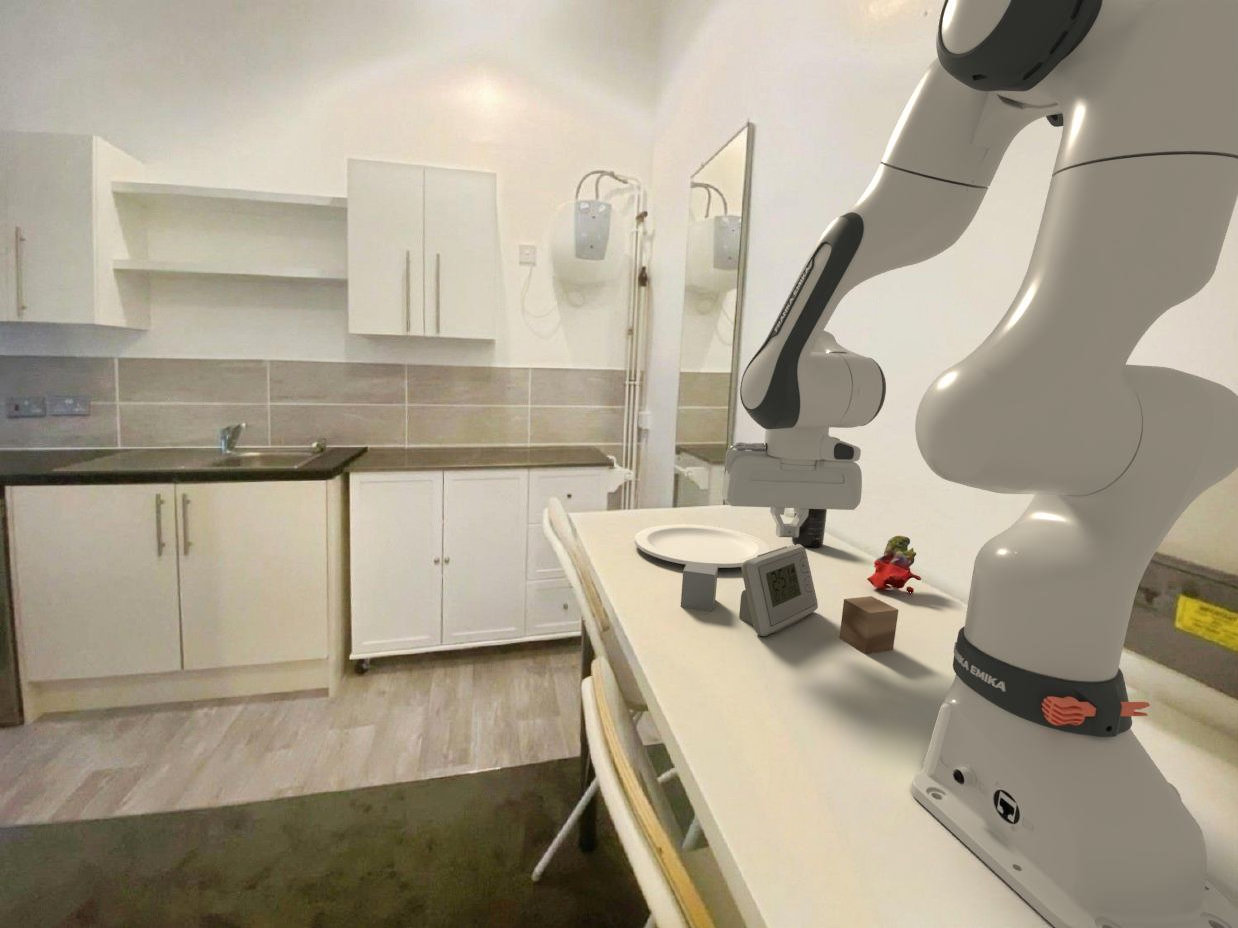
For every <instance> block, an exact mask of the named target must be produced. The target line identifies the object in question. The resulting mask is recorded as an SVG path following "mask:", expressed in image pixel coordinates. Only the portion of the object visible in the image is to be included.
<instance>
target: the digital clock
mask: <svg viewBox="0 0 1238 928" xmlns="http://www.w3.org/2000/svg"><path fill="white" fill-rule="evenodd" d="M740 568H741V574H742V579H743V584H744V588H745V589H744V590H742V592H741V595H740V605H739V615H738V618H739V619H740V620H742V621H743V622H747V623H749V624H751V625H753V629H754V631H755V633H756V634H757V635H758V636H761V637H766V636H769V635H771V634H776V633H777V632H779V631H782V630H784V629H786V628H787V627H789V626H791V625H793V624H795V623H797V622H799V621H801V620H803V619H805V618H806V616H809V615H810V614H813V613H814V612H815V611H816V610H818V607H819V605H818V598H817V594H816V590H815V586H814V585H815V584H814V580H813V575H812V572H811V567H810V564H809V558H808V554H807V550H806V548H805V547H803V546H802V545H800V544H796V545H795V544H792V545H790V546H783V547H780V548H777V549H773V550H771V551H770V552H767V553H764V554H761V555H758V556H757V557H755V558H752V559H749V560H747V561H745V562H744V563H743V564H742V567H740Z"/></svg>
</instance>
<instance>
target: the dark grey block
mask: <svg viewBox="0 0 1238 928" xmlns="http://www.w3.org/2000/svg"><path fill="white" fill-rule="evenodd" d="M682 570H683V571H682V580H681V583H682V584H681V597H680V607H681V608H689V609H693V610H694V609H695V610H700V611H708V612H713V609H714V606H715V602H716V596H717V595H716V594H717V585H718V573H719V568H718V565H713V564H705V563H698V562H690V561H688V562H687V564H686V565H685V566H684V568H683V569H682Z"/></svg>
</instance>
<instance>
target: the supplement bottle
mask: <svg viewBox="0 0 1238 928" xmlns="http://www.w3.org/2000/svg"><path fill="white" fill-rule="evenodd" d="M827 512H828V509H809V512H808V517H807V518H806V520H805V521H804V522H803V524H802V525H801V526H800V527H799V536H798V538H792V537H791V542H792V543H793V545H795V544H800V545H802V546H803V547H804V548H805V549H806V548H807V549H819V548H822V546H824V545H823V544H824V538H825V530H826V521H827ZM796 514H797V513H795V512H794V515H793V518H794V517H795V516H796Z"/></svg>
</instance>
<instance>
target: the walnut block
mask: <svg viewBox="0 0 1238 928" xmlns="http://www.w3.org/2000/svg"><path fill="white" fill-rule="evenodd" d="M842 605H843V606H842V613H841V621H840V622H841V624H840V630H839V637H838V638H839V640H841V641H843V642H845V643H846V644H847V645H849V646H851V647H852V648H853V649H856V650H857V651H859V652H860V653H862V655H863V654H864V655H869V654H878V653H883V652H890V651H894V645H895V637H896V630H897V623H898V616H899V609H898V608H896V607H893V606H892V605H890V604H887V603H886V602H884V601H882V600H880V599H878V598H876V597H874V596H873V595H869V596H862V597H861V596H859V597H852V598H844V599H843V604H842Z"/></svg>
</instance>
